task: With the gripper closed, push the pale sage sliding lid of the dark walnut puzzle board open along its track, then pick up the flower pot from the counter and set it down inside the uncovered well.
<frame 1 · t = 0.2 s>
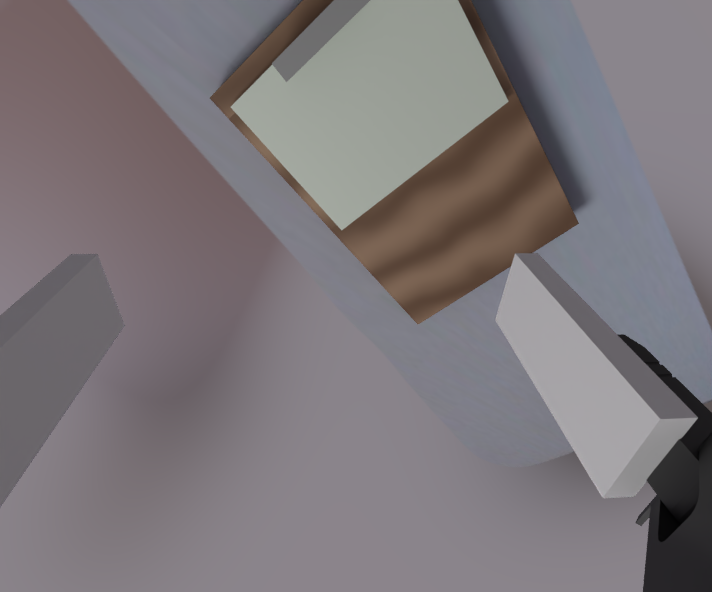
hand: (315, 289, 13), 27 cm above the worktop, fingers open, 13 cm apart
lid: (373, 105, 31), point 4 cm above the worktop, slide at 0.0 cm
puzzle board: (397, 140, 36), on the worktop
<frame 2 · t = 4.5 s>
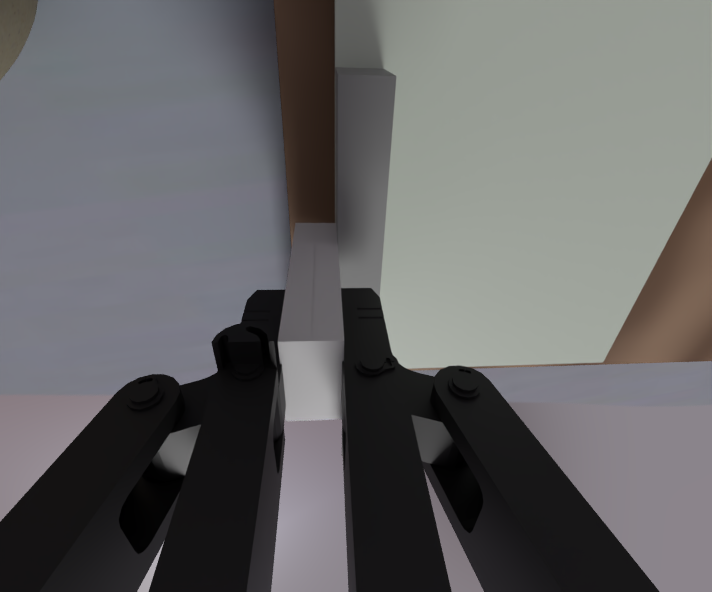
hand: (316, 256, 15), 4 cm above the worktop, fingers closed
lid: (530, 202, 14), point 4 cm above the worktop, slide at 0.3 cm, touching gripper
puzzle board: (580, 171, 17), on the worktop
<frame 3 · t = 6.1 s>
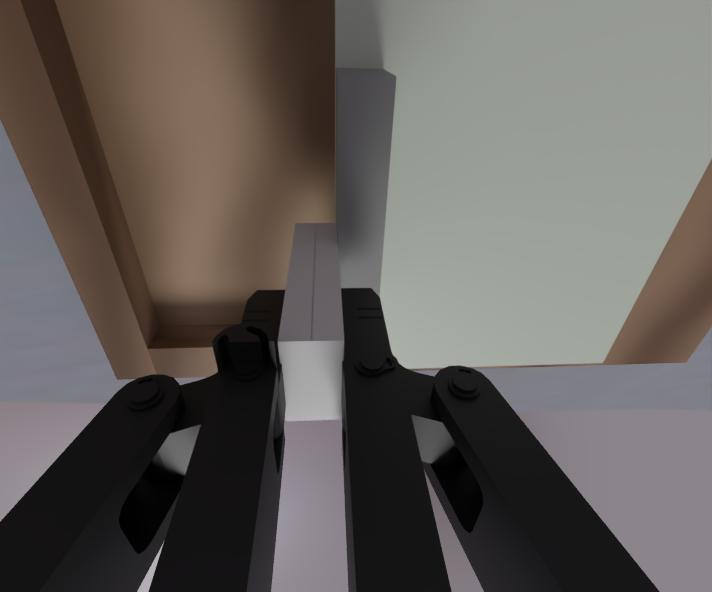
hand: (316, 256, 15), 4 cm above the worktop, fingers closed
lid: (529, 203, 14), point 4 cm above the worktop, slide at 9.6 cm, touching gripper
puzzle board: (378, 170, 17), on the worktop
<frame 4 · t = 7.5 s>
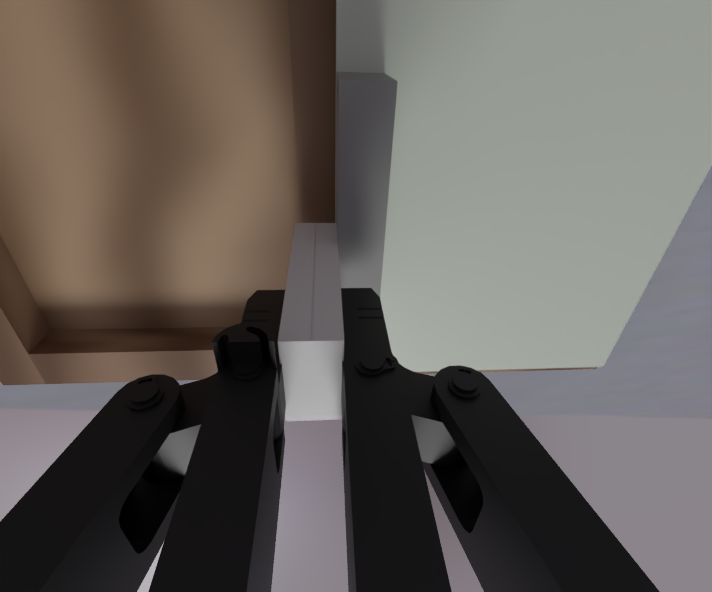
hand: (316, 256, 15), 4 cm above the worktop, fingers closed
lid: (530, 207, 14), point 4 cm above the worktop, slide at 14.9 cm, touching gripper
puzzle board: (252, 172, 16), on the worktop
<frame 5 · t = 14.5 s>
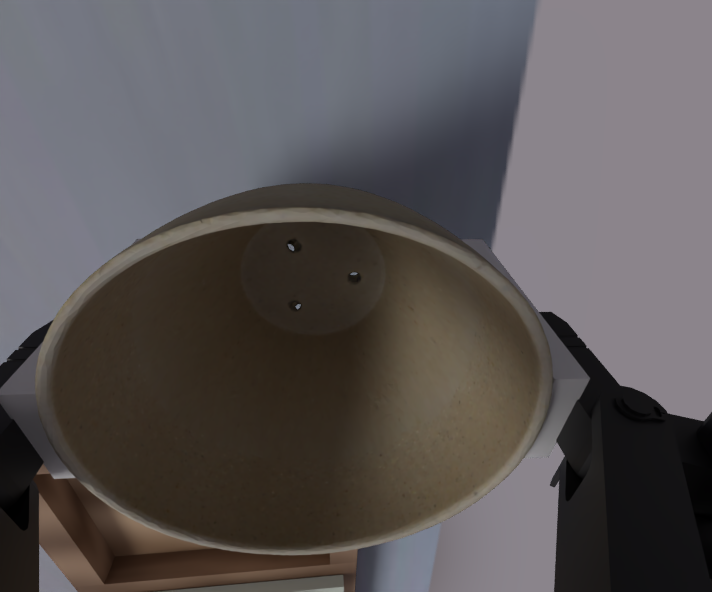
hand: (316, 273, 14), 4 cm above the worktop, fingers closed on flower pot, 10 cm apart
flower pot: (315, 266, 14), point 3 cm above the worktop, touching gripper
puzzle board: (222, 528, 29), on the worktop
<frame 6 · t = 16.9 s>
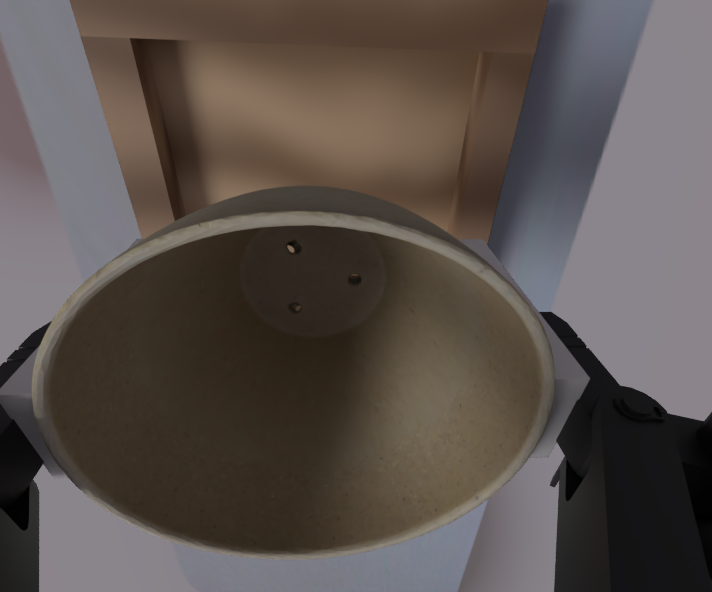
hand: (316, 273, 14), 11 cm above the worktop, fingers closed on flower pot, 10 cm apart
flower pot: (315, 268, 14), point 11 cm above the worktop, touching gripper
puzzle board: (321, 246, 25), on the worktop
when the fingers open (3 cm above the worktop, at t = 19.2 s): flower pot drops 2 cm, resting on puzzle board.
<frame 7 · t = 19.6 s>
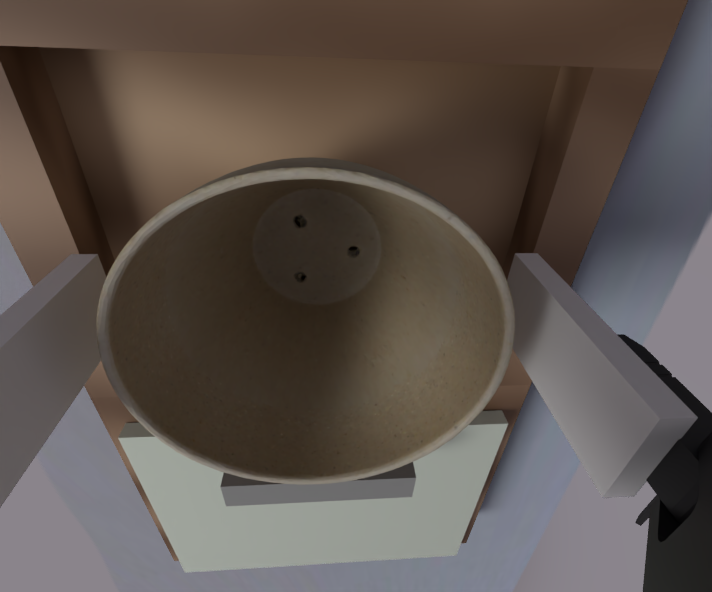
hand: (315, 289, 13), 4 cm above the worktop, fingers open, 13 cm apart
flower pot: (319, 241, 16), resting on puzzle board
lid: (322, 524, 21), point 4 cm above the worktop, slide at 15.2 cm
puzzle board: (319, 326, 18), on the worktop
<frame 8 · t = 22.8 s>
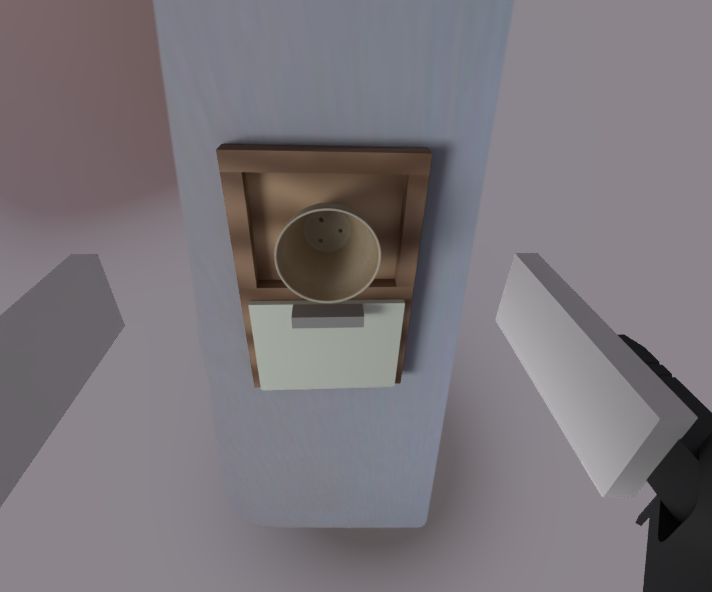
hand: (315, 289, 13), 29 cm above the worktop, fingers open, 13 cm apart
flower pot: (327, 227, 42), resting on puzzle board
lid: (328, 354, 48), point 4 cm above the worktop, slide at 15.2 cm
puzzle board: (327, 262, 45), on the worktop
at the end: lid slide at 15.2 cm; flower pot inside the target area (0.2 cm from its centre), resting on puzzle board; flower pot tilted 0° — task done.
